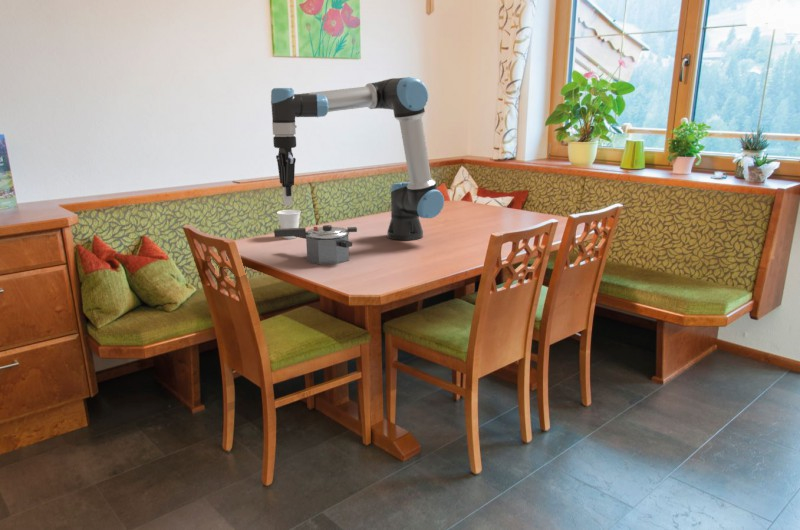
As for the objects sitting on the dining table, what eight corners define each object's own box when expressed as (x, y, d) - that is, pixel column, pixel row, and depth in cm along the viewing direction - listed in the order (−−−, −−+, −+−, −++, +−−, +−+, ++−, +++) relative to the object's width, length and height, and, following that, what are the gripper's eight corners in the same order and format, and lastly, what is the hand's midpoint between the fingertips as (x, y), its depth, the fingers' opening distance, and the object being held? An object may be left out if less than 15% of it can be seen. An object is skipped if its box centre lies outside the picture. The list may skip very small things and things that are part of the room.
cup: (297, 240, 251) (295, 214, 248) (274, 239, 253) (272, 213, 250) (305, 235, 260) (304, 210, 257) (283, 234, 262) (282, 209, 259)
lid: (354, 228, 229) (354, 220, 228) (358, 237, 214) (358, 229, 213) (275, 231, 224) (274, 223, 223) (274, 241, 209) (273, 232, 208)
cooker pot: (364, 259, 221) (363, 235, 218) (334, 268, 210) (333, 243, 207) (310, 247, 239) (309, 225, 237) (280, 255, 228) (279, 231, 226)
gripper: (302, 136, 200) (305, 207, 206) (288, 134, 210) (291, 201, 217) (280, 137, 196) (283, 208, 202) (267, 135, 207) (271, 203, 213)
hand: (288, 205), depth 209 cm, fingers closed
